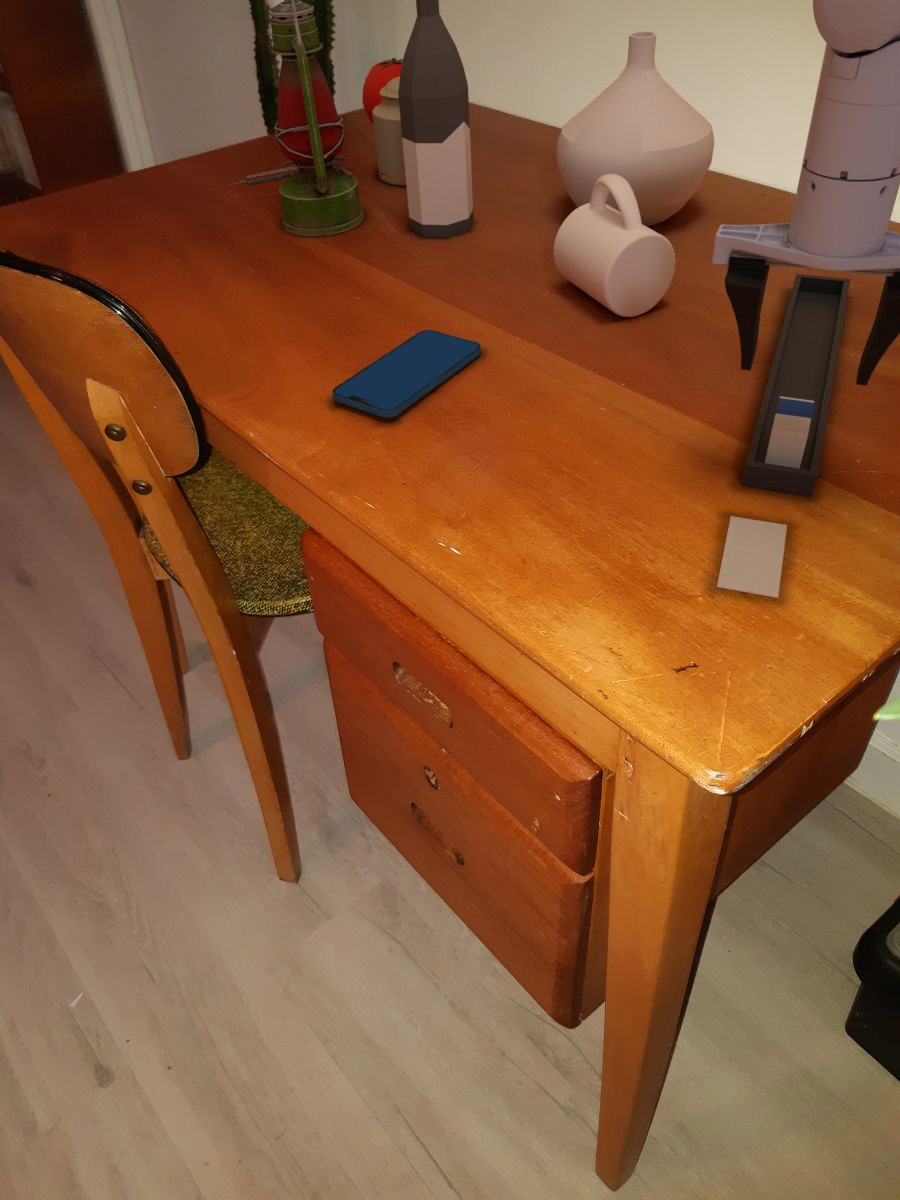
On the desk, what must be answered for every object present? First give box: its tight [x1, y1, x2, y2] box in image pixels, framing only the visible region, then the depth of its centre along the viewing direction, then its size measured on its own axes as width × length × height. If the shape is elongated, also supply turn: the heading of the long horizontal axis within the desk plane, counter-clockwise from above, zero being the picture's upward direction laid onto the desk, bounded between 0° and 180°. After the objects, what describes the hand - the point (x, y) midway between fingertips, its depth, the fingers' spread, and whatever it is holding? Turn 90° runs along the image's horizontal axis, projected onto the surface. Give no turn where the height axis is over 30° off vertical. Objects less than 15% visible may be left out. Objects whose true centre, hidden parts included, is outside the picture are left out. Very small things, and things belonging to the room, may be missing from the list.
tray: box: [740, 273, 851, 498], centre depth 78 cm, size 35×5×2 cm, turn 158°
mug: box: [552, 174, 676, 318], centre depth 89 cm, size 8×10×12 cm
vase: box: [556, 31, 715, 227], centre depth 103 cm, size 18×18×19 cm
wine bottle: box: [398, 0, 474, 239], centre depth 100 cm, size 8×8×30 cm
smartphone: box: [331, 329, 482, 419], centre depth 83 cm, size 7×1×15 cm
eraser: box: [765, 396, 814, 468], centre depth 69 cm, size 5×3×4 cm, turn 158°
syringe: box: [229, 158, 349, 187], centre depth 126 cm, size 8×18×2 cm, turn 115°
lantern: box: [268, 0, 365, 237], centre depth 104 cm, size 14×11×30 cm
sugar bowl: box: [372, 56, 407, 187], centre depth 121 cm, size 15×11×15 cm
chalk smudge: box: [716, 515, 788, 599], centre depth 62 cm, size 8×4×1 cm, turn 161°
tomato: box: [361, 57, 403, 125], centre depth 138 cm, size 11×13×10 cm
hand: (803, 370), depth 62 cm, fingers open, 7 cm apart
